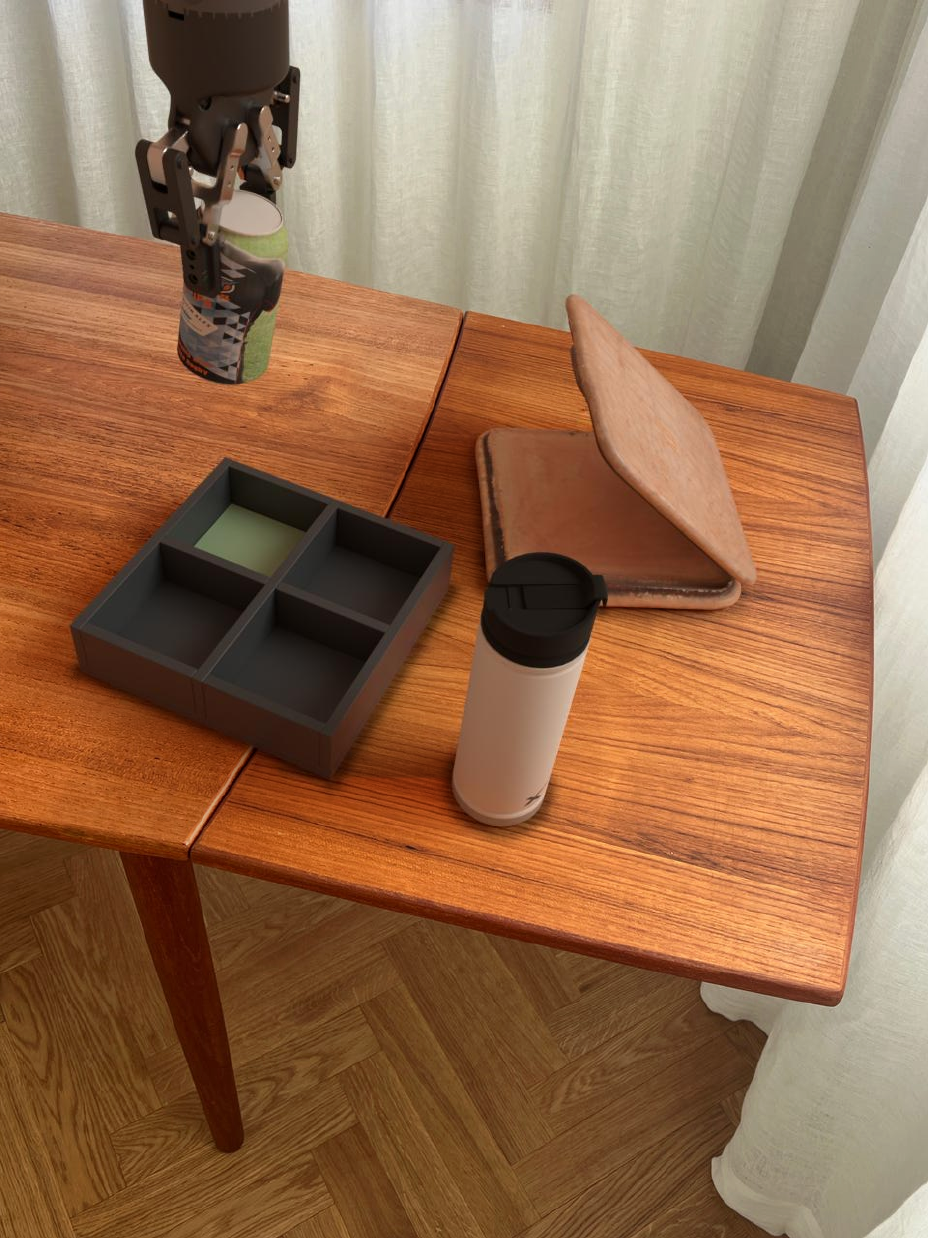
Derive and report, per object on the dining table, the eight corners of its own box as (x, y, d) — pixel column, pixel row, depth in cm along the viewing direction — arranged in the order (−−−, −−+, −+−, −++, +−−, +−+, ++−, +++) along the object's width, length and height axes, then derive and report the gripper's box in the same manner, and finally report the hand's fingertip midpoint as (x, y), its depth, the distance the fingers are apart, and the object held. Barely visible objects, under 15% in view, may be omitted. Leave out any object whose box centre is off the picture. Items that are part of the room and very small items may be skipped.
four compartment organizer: (80, 672, 77) (68, 625, 73) (228, 504, 89) (225, 456, 85) (330, 780, 73) (331, 737, 69) (448, 589, 86) (455, 544, 82)
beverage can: (172, 346, 76) (155, 180, 67) (278, 336, 78) (276, 174, 69) (187, 403, 73) (171, 236, 63) (298, 391, 75) (298, 228, 66)
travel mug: (554, 828, 73) (617, 630, 58) (454, 829, 72) (491, 628, 57) (543, 748, 77) (600, 544, 62) (448, 748, 76) (482, 541, 61)
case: (753, 617, 87) (824, 461, 75) (487, 610, 84) (516, 447, 72) (702, 446, 100) (756, 290, 88) (471, 435, 98) (494, 274, 86)
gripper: (224, -79, 63) (239, 200, 75) (67, 2, 53) (114, 304, 66) (343, -46, 61) (338, 233, 74) (203, 42, 52) (224, 343, 65)
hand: (232, 265), depth 70 cm, fingers closed on beverage can, 6 cm apart
